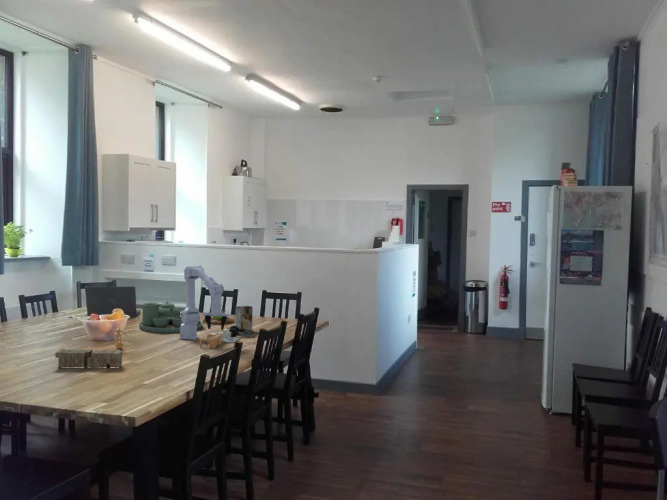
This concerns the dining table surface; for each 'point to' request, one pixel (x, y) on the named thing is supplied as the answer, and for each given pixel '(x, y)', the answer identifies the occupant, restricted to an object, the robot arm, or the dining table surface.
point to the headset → (236, 330)
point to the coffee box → (244, 317)
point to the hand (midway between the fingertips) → (215, 329)
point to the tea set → (162, 318)
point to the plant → (219, 320)
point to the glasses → (212, 340)
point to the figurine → (118, 344)
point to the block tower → (89, 358)
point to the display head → (225, 337)
